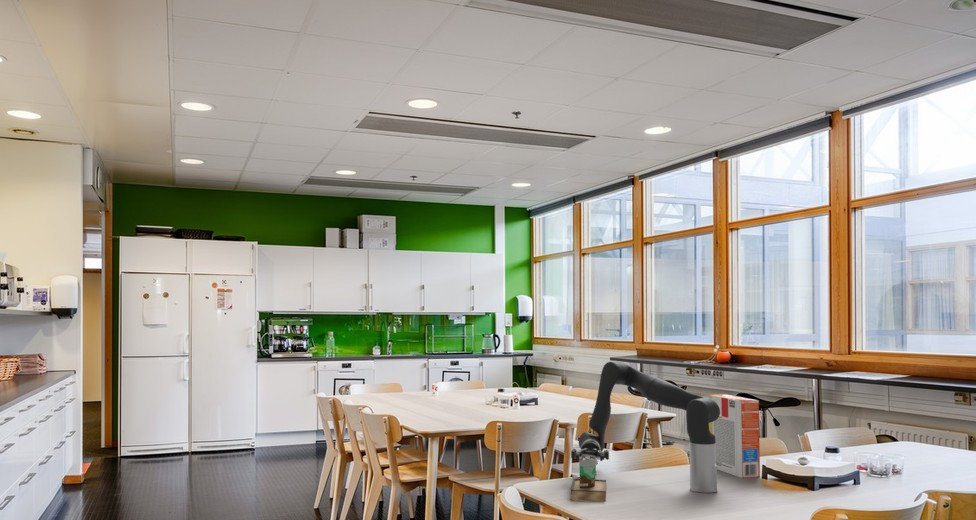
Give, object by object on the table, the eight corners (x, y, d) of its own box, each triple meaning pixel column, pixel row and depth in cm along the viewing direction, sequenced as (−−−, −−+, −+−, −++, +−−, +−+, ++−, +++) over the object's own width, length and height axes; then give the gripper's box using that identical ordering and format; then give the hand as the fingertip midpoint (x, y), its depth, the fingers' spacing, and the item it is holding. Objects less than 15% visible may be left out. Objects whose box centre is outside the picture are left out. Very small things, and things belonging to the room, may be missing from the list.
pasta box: (760, 476, 307) (758, 400, 309) (742, 478, 305) (741, 401, 307) (726, 465, 329) (725, 394, 331) (709, 466, 327) (708, 394, 329)
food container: (597, 490, 270) (597, 461, 271) (579, 489, 271) (579, 460, 272) (598, 482, 282) (598, 454, 283) (581, 481, 284) (581, 453, 284)
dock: (606, 489, 284) (606, 479, 285) (605, 501, 267) (605, 491, 267) (573, 488, 286) (573, 478, 287) (570, 499, 269) (570, 489, 269)
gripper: (572, 439, 307) (570, 447, 291) (608, 440, 305) (609, 448, 289) (572, 459, 306) (570, 467, 290) (609, 460, 304) (609, 468, 288)
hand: (589, 457), depth 289 cm, fingers open, 8 cm apart
